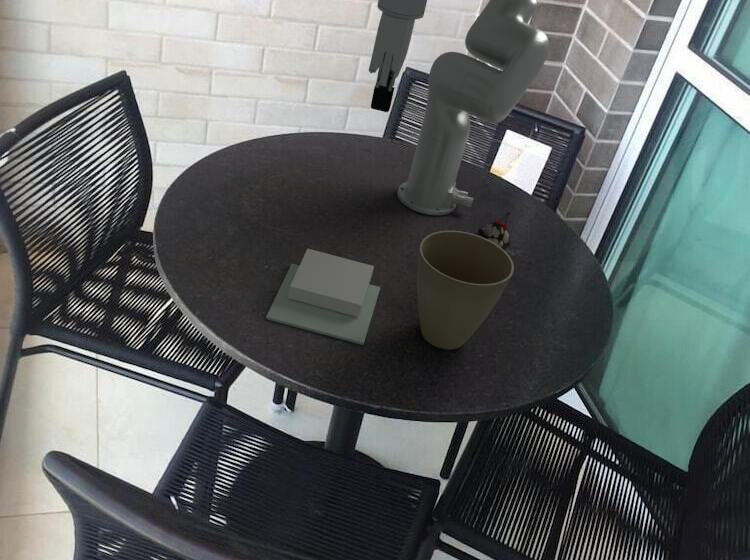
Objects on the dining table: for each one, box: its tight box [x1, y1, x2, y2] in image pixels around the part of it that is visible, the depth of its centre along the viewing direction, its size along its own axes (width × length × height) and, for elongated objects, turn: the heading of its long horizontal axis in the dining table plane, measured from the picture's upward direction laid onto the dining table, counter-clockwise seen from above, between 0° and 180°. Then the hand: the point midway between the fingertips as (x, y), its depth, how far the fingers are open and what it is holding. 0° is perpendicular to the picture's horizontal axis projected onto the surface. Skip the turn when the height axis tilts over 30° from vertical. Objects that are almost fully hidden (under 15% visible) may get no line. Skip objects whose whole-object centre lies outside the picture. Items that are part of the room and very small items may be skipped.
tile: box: [288, 248, 375, 317], centre depth 137 cm, size 12×3×12 cm
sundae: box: [474, 212, 513, 251], centre depth 145 cm, size 7×7×15 cm
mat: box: [265, 263, 381, 346], centre depth 135 cm, size 16×16×1 cm
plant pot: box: [416, 230, 515, 350], centre depth 130 cm, size 15×15×16 cm
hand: (380, 108), depth 138 cm, fingers closed
